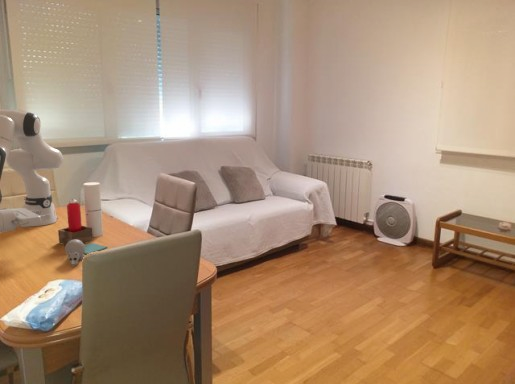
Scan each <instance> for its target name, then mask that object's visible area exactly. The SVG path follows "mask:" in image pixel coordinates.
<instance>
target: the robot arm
mask: <svg viewBox="0 0 515 384" xmlns="http://www.w3.org/2000/svg"><path fill="white" fill-rule="evenodd" d="M40 131H41V119H40V117H39V116H38V115H36V114H35V113H32V112H30V111H29V110H26V109H17V110H16V109H3V108H2V109H1V108H0V180H2V174H3V170H4V165H5V164H7V166H8V167H9V168H10V169H12V170H13V171H15V172H16V173H17V174H18V175H19V176H20V177H21V178H22V181H23V182H24V187H25V193H26V197H24V199H23V201H24V204H23V205H22V206H21V207H19V208H17V207H15V208H6V207H5V208H0V233H4V232H10V231H15V230H16V229H17V227H20V228H30V227H37V226H38V227H39V226H46V225H51V224H54V223H56V222H57V220H58V219H59V216H57V214H56V208H55V204H54V203H53V197H52V194H51V193H52V192H51V186H50V185H51V184H50V182H51V181H49V179H48V178H46V177H45V176H42V175H40V174H39V173H37V171H43V170H45V171H46V170H54V169H60V167H62V164H63V163H64V156H63V153H62V152H61V151H60V150H59V149H56V148H55V147H52V146H50V145H49V144H48V143H47V142H46V141H45V140H44V139H43V137H42V135H41V134H42V133H41V132H40ZM14 140H15V142H16V145H17V147H18V148H16V149H13V145H14ZM2 195H3V194H2V191H1V189H0V204H1V202H2Z"/></svg>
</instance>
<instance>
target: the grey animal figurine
mask: <svg viewBox="0 0 515 384" xmlns="http://www.w3.org/2000/svg"><path fill="white" fill-rule="evenodd" d="M84 245H85V243H83V242H82V241H80V240H77V239H74V240H71V241H69V242H68V243H67V244H66V245H65V246H64V251H65V254H66V255H67V259H68V261H69V262H70V263H69V264H70V265H71V266H73V267H75V266H77V265H78V264H79V261H83V260H84V259H83V257H84V258H85V254H84V253H85V246H84ZM82 259H83V260H82Z"/></svg>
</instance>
